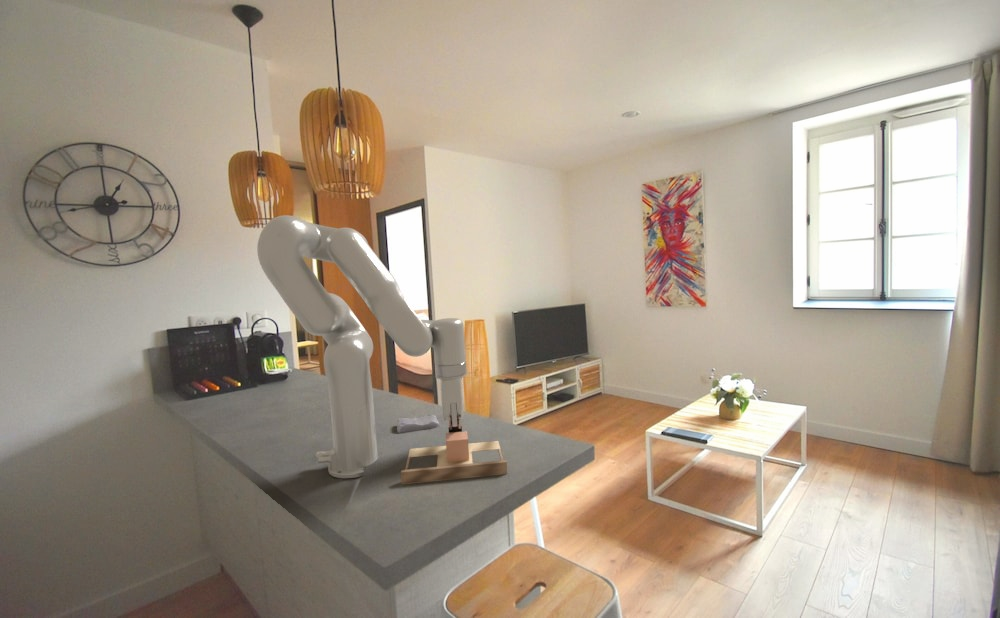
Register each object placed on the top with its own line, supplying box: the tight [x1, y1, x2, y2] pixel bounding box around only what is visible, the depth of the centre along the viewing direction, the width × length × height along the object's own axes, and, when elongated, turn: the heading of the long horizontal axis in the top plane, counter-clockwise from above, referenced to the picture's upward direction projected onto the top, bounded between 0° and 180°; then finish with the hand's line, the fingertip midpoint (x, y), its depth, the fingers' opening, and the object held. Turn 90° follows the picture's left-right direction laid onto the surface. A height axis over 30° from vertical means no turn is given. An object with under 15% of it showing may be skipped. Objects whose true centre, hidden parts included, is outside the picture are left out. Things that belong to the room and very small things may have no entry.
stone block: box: [396, 414, 440, 434], centre depth 124 cm, size 12×5×10 cm
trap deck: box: [400, 440, 508, 485], centre depth 99 cm, size 22×18×4 cm
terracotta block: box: [445, 430, 469, 463], centre depth 101 cm, size 5×5×5 cm
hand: (456, 443), depth 106 cm, fingers closed
